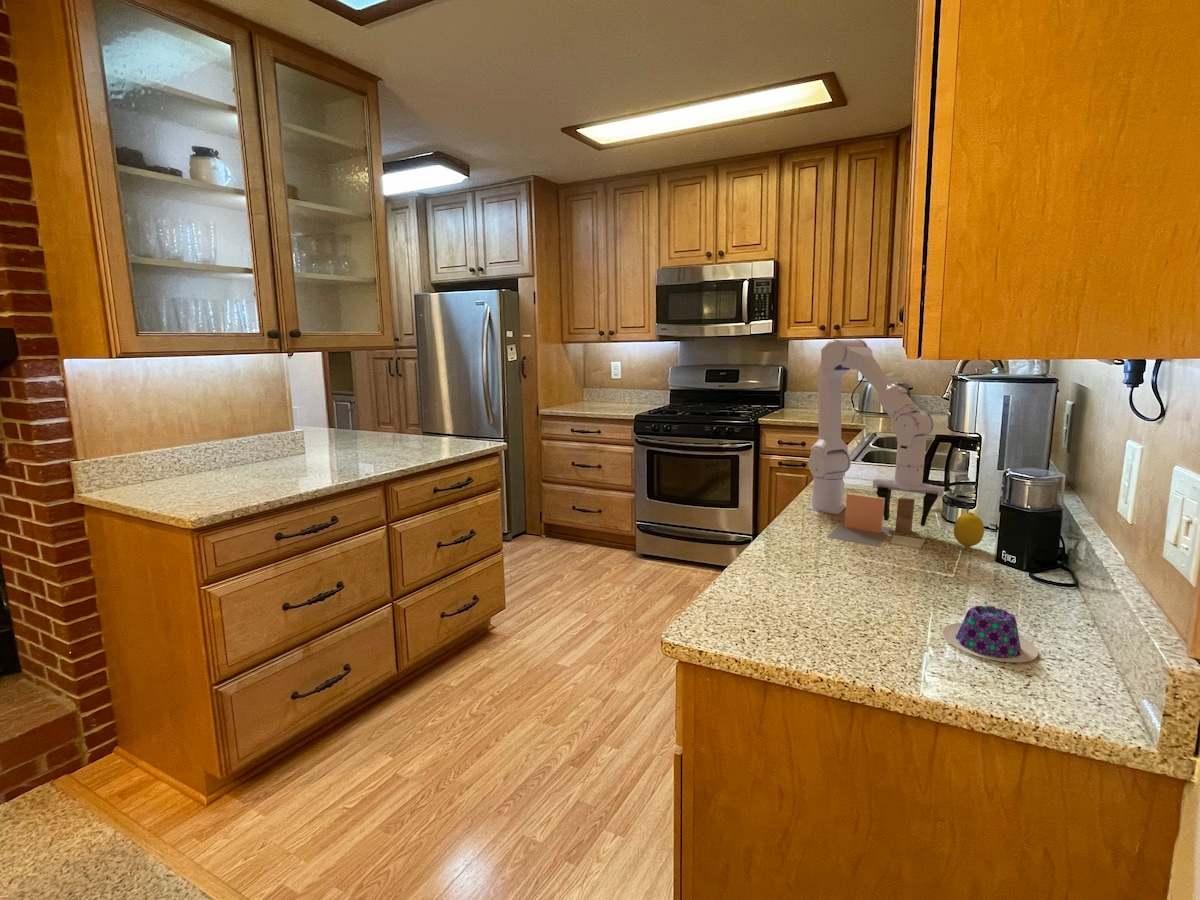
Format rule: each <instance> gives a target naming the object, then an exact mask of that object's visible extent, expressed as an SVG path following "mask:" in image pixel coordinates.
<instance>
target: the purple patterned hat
mask: <svg viewBox="0 0 1200 900" xmlns="http://www.w3.org/2000/svg"><path fill="white" fill-rule="evenodd" d="M941 634H942V636H943V637H944V639H945V640H946V641H947V642H948V643H950V644H951V645H953V646H954V647H956V648H958V649H959V650H962V651H964V652H966V653H969V654H971V655H974V656H977V657H980V658H983V659H988V660H992V661H998V662H1003V663H1004V662H1005V663H1026V662H1030V661H1033V660H1035V659H1037V657H1038V656H1039V651H1038V648H1037V647H1036V645H1034V644H1033V643H1032V642H1031V641H1029V640H1028V639H1027V638H1025V637H1023V636H1021V635H1019V630H1018V624H1017V620H1016V617H1015V616H1014V615H1013V614H1012V613H1010V612H1008V611H1007V610H1006V609H1003V608H999V607H998V608H997V607H994V606H990V605H974V606H972V607H970V608H969V609H968V610H967V612H966V614H965V616H964V618H963V621H962V622H956V623H951V624H948V625H946V626H944V627H943V629H942V631H941ZM957 639H958V640H959V642H958V640H957ZM1021 650H1022V653H1021ZM992 656H993V657H992ZM1010 657H1012V658H1010Z"/></svg>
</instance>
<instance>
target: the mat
mask: <svg viewBox="0 0 1200 900" xmlns="http://www.w3.org/2000/svg"><path fill="white" fill-rule="evenodd" d="M844 524H845V519H843V520H842V521H841V522H840V523H839V524H838V525H837V526H836V527H835V528H834V529H833V530H832V531H831V532H830V533H829V534H828V535H827V536H826V538H829V539H833V540H839V541H844V542H845V541H846V542H851V543H855V544H861V545H867V546H873V547H880V546H881V544H882V543H883V542H884V541H885V540H886V538H887V537H888V535H889V534H890V532H891V531H892V530H893V527H888V526H883V527H882V532H881V533H877V532H871V531H865V530H859V529H853V528H847V527H844Z"/></svg>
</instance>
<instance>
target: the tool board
mask: <svg viewBox="0 0 1200 900" xmlns="http://www.w3.org/2000/svg"><path fill="white" fill-rule="evenodd" d="M925 541H926V539H922V538H915V537H911V536H910V537H908V536H905V535H899V534H898V535H897V534H894V536H893V537H892V538H891V540H890V544H893V545H898V546H899V545H900V546H905V547H909V548H910V547H911V548H915V549H916V548H917V549H922V547H923V545H924V543H925Z"/></svg>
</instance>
